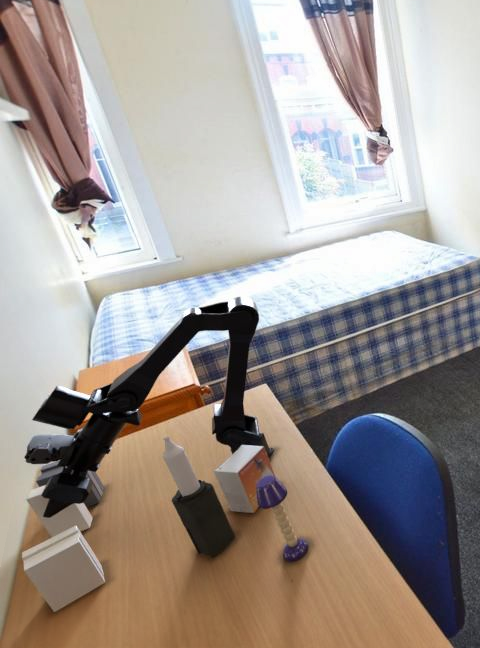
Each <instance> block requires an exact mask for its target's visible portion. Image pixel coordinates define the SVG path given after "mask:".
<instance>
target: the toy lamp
mask: <svg viewBox="0 0 480 648" xmlns="http://www.w3.org/2000/svg"><path fill="white" fill-rule="evenodd" d="M256 491H257V503H258V506H259V507H258V508H260V509H262V510H269V509H271V513H272V514H273V515H274V518H275V520H276V521H277V525H278V527H279V528H280V532H281V533H282V534H283V538H284V539H285V540H286V544H285V546H284V548H283V551H282V556H283V559H284V561H286V562H295V561H298V560H300V559H301V558H302V557H304V556H305V554H307V552H308V550H309V543H308V541H307V540H306V539H304V538H301V537H297V536H296V533H295V530H293V526H292V524H291V522H290V519H289V517H288V516H287V512H286V511H285V510H284V505H283V504H282V502H284V501H285V499H286V498H287V496H288V489H287V488H286V486H285V485H284V484H283V483H282V482H281V481H280V480H279V479H278V478H277V477H276V475H275V476H273V475H267V476H264V477H262V478H261V479H260V480H259V481H258V482H257V484H256Z"/></svg>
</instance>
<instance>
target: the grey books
mask: <svg viewBox="0 0 480 648" xmlns="http://www.w3.org/2000/svg"><path fill="white" fill-rule="evenodd" d="M59 461H60V460H59ZM59 461H55V462H50V463H48V464H43V465H42V466H41V468H40V475H38V477H37V478H36V480H35V483H36V484H37V486H38V487H41V486H44V485H47V483H48V481H49V480H50V478H51V477H52V475H55V474H58V473H61V472H62V470H63V468H64V467H61V466H57V464H58V462H59ZM86 477H87V478H90V479H91V481H92V482H93V485H92V488H91V491H90V493H89V495H88V497H87V498H86V500H85V501H84V504H85V506H86V508H88V507H91V506H93V505H96V504H99V503H101V499H102V497H103V494H104V491H105V485H104V483H103V482H102V481H101V479H100V477H99V475H98V473H97V471H96V472H93V471H88V472H87V475H86Z"/></svg>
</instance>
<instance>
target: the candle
mask: <svg viewBox="0 0 480 648" xmlns="http://www.w3.org/2000/svg"><path fill="white" fill-rule="evenodd" d="M162 440H163V441H164V452H163V455H162V458H163V461H164V462H165V464H166V466H167V469H168V470H169V472H170V475H171V477H172V478H173V480H174V482H175V485H176V487H177V489H178V490H177V491H176V493H175V495H173V496H172V498H171V502H172V505H173V507H174V509H175V510H176V513H177V515H178V516H179V518H180V520H181V523H182V524H183V527H184V528H185V531H186V533H187V534H188V536H189V539H190V541H191V543H192V545H193V546H194V548H195V550H196V553H197V554H199V555H201V554H203V555H206V556H208V557H209V558H215V557H217V556H219V555H220V554H221V553H222V552H223V551H224V550H225V549H226V548H227V547H228V546H229V545H230V544H231V543H232V542H233V541H234V540H235V538H236V534H235V532H234V530H233V528H232V525H231V524H230V522H229V520H228V517H227V515H226V512H225V511H224V508H223V506H222V503H221V501H220V499H219V497H218V494H217V492H216V490H215V487H214V486H213V484H212V483H210V482H207V481H205V480H202V479H198V477H197V475H196V473H195V470H194V469H193V466H192V464H191V462H190V459H189V458H188V456H187V453H186V451H185V449H184V448H183V447H182V446H180V445H178V444H176V443H175V442H173V440H172V439H170V435H164V436H163V438H162Z"/></svg>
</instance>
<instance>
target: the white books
mask: <svg viewBox="0 0 480 648" xmlns="http://www.w3.org/2000/svg"><path fill="white" fill-rule="evenodd" d="M21 556H22V557H21V558H22V560H23V571H24V573H25V574H26V575H27V577H28V579H29V580H30V581H31V582H32V584H33V585H34V586H35V588H36V589H37V590H38V592H39V593H40V595H41V596H42V598H43V599H44V600H45V602H46V603H47V605H48V606H49V607H50V609H51V610H52V611H53V613H56V612H57V611H60V610H61V609H63V608H64V607H66V606H68V605H70V604H71V603H73V602H75V601H76V600H78V599H80V598H81V597H83V596H85V595H86V594H88V593H90V592H92V591H94V590H95V589H97V588H98V587H100V586H102V585H104V584H105V583H106V581H105V574H104V570H103V566H102V564H101V562H100V561H99V559H98V556H96V554H95V553H94V551H93V550H92V548H91V546H90V544H89V543H88V542H87V540H86V538H85V537H84V535H83V534H82V531H81V532H80V530H79V529H78V527H77V526H74V527H72V528H70V529H68V530H66V531H64V532H62V533H60V534H58V535H56V536H54V537H50V538H48V539H46V540H45V541H42V542H40V543H38V544H36V545H34V546H32V547H30V548H29V549H27V550H24V551H23V552H22V553H21Z"/></svg>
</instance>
